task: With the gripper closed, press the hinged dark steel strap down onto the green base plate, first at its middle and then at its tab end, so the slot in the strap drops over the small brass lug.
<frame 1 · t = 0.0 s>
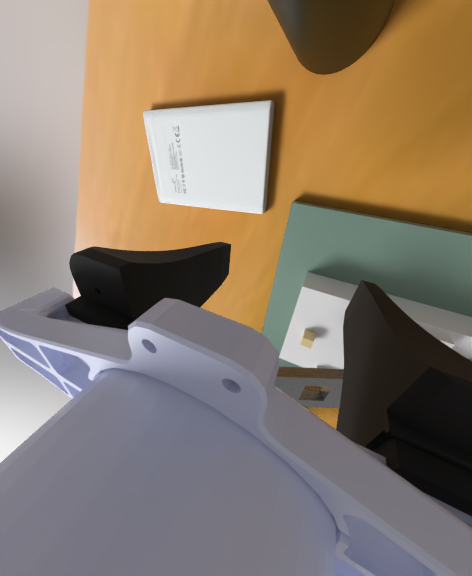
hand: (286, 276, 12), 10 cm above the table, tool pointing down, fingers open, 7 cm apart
wine bottle: (339, 10, 13), on the table
strap: (366, 390, 16), point 8 cm above the table, hinge at 25.0°
green base plate: (361, 326, 22), on the table
external hard drive: (211, 161, 21), on the table
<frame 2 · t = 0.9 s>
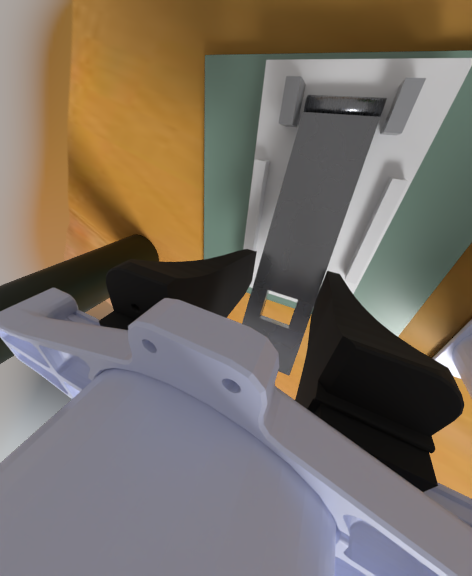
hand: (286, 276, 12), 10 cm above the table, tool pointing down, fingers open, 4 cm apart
wine bottle: (144, 252, 31), on the table
strap: (298, 245, 13), point 8 cm above the table, hinge at 25.0°
green base plate: (313, 215, 19), on the table
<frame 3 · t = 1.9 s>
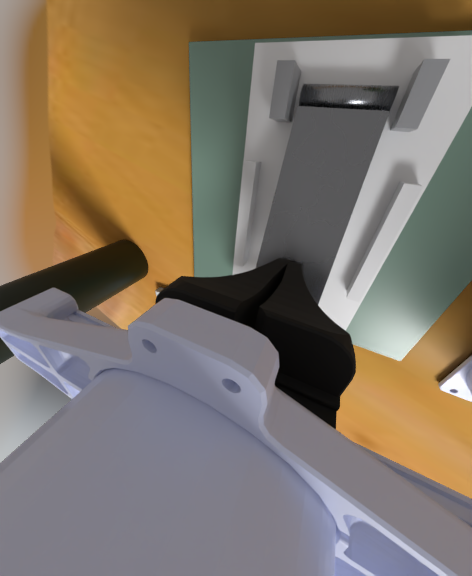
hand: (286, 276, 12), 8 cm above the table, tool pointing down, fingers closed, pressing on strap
wine bottle: (133, 259, 30), on the table
strap: (294, 260, 12), point 7 cm above the table, hinge at 18.6°, touching gripper
green base plate: (312, 222, 17), on the table
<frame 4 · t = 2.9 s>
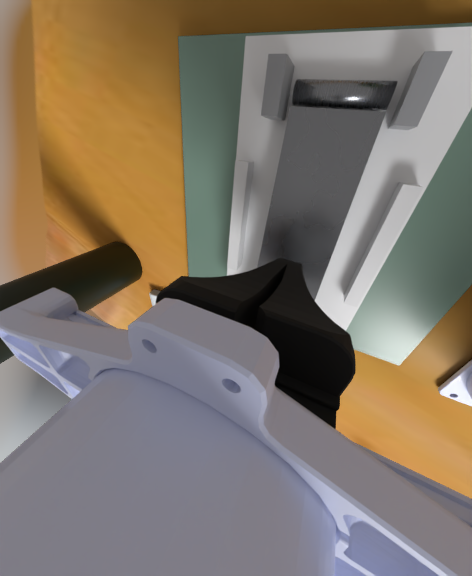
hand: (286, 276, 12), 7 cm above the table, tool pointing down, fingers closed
wine bottle: (126, 261, 29), on the table
strap: (292, 259, 13), point 6 cm above the table, hinge at 7.1°
green base plate: (308, 224, 17), on the table
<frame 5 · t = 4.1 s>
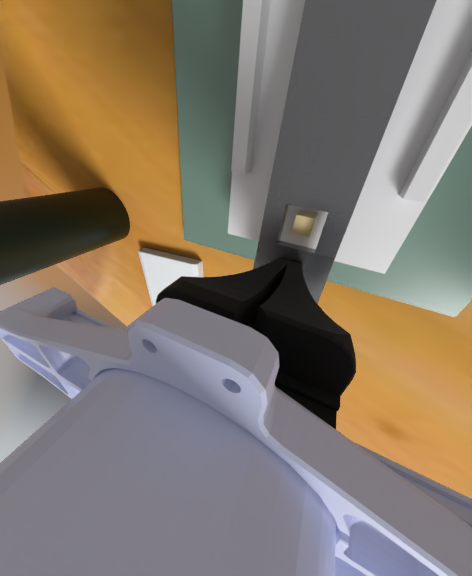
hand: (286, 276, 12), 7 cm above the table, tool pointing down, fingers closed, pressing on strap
wine bottle: (112, 214, 25), on the table
strap: (330, 125, 9), point 5 cm above the table, hinge at 6.0°, touching gripper
green base plate: (340, 119, 12), on the table
external hard drive: (181, 295, 28), on the table
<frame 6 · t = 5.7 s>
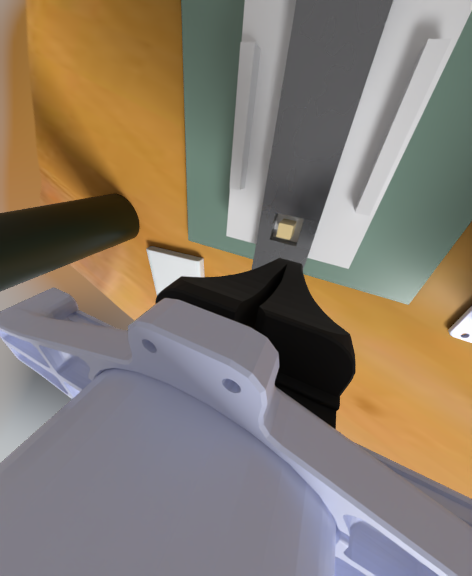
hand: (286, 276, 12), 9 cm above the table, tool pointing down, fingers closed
wine bottle: (123, 216, 28), on the table
strap: (303, 160, 13), point 5 cm above the table, hinge at -0.5°
green base plate: (316, 147, 16), on the table
external hard drive: (184, 289, 31), on the table
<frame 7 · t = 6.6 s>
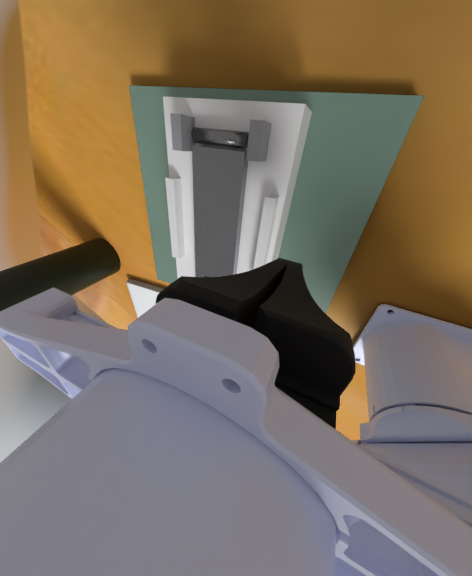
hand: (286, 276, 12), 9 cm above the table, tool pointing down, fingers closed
wine bottle: (107, 255, 34), on the table
strap: (216, 245, 18), point 5 cm above the table, hinge at -0.5°
green base plate: (237, 223, 22), on the table
external hard drive: (160, 312, 37), on the table
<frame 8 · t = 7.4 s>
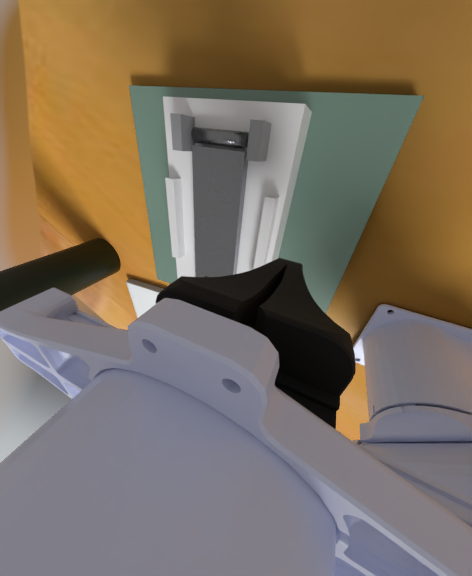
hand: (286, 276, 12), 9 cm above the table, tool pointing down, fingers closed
wine bottle: (107, 255, 34), on the table
strap: (216, 245, 18), point 5 cm above the table, hinge at -0.5°
green base plate: (237, 223, 22), on the table
external hard drive: (159, 312, 37), on the table
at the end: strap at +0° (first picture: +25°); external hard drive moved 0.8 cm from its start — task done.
